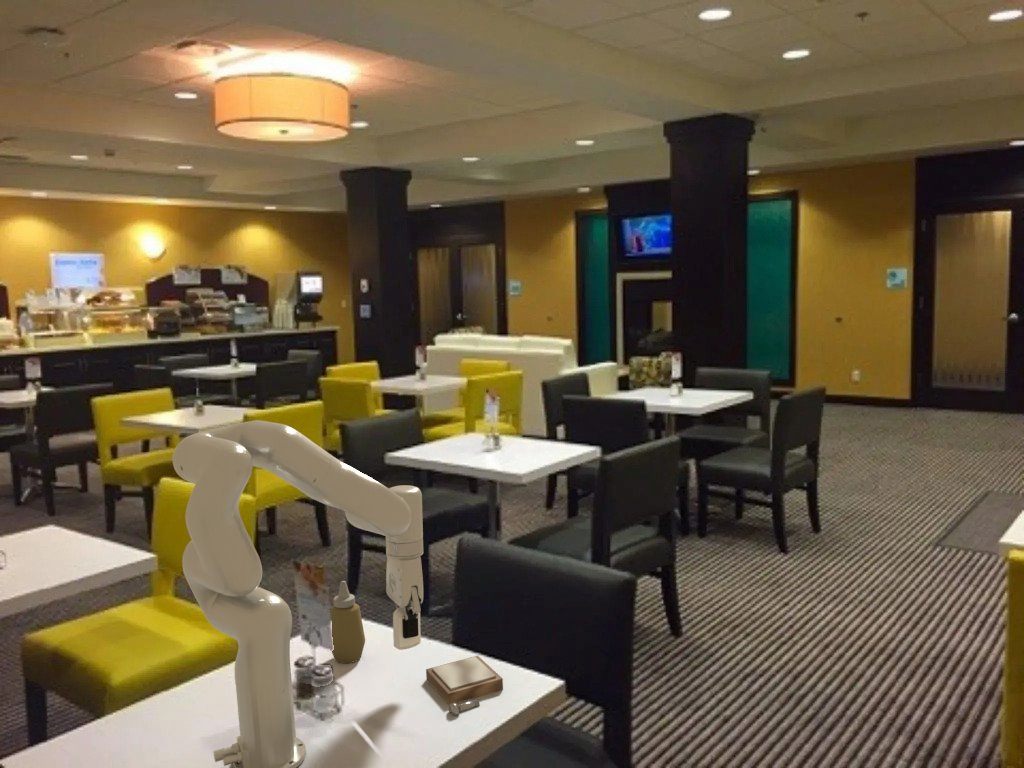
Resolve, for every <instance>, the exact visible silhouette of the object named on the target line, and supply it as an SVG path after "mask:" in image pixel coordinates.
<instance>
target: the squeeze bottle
mask: <svg viewBox="0 0 1024 768" xmlns="http://www.w3.org/2000/svg"><path fill="white" fill-rule="evenodd" d="M339 583H340V584H339V589H338V595H336V596H334V597H333V606H332V607H331V608H330V611H329V614H330V613H331V620H332V637H333V645H334V650H333V651H332V652H331V654H332V656H333V658H334V660H335V662H336V663H339V664H350V663H353V662H356V661H358V660H360V659H361V658H362V655H363V651H364V647H365V644H366V636H365V631H364V625H363V619H362V614H361V607H360V605H359V604H357V603H356V596H355V595H354V594H352V593H350V590H349V588H348V585H347V582H346V581H345V580H341V581H340V582H339Z"/></svg>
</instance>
